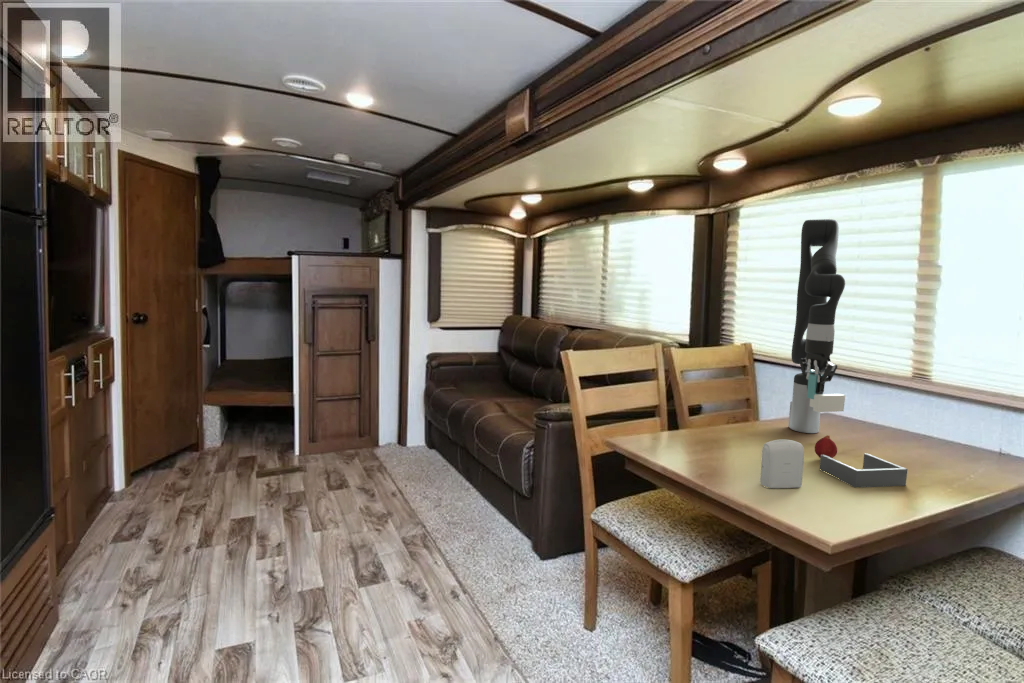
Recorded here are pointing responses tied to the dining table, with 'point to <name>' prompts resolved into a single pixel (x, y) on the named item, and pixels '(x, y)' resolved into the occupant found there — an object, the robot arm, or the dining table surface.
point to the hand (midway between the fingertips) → (815, 392)
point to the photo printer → (782, 464)
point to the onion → (826, 447)
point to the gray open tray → (866, 472)
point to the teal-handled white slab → (823, 398)
